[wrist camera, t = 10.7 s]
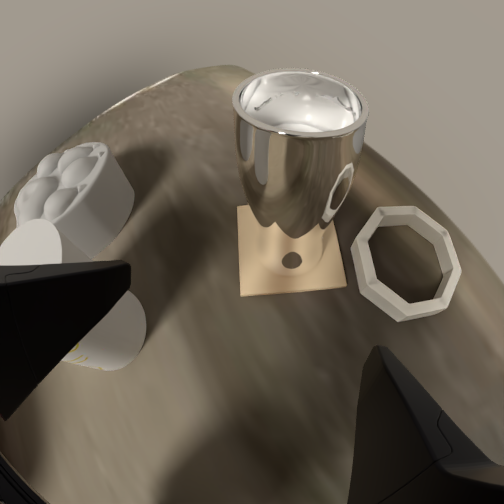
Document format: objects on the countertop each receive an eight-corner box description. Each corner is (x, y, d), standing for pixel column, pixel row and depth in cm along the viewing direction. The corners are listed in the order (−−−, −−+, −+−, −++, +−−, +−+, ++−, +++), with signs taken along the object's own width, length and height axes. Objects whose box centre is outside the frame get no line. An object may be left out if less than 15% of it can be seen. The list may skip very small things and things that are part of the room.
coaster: (241, 296, 23) (240, 295, 23) (237, 208, 28) (237, 206, 27) (345, 287, 23) (346, 285, 23) (327, 202, 27) (327, 200, 27)
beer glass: (266, 294, 23) (258, 157, 10) (239, 227, 26) (211, 80, 13) (340, 265, 24) (402, 126, 10) (307, 204, 27) (325, 61, 13)
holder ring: (365, 327, 21) (373, 322, 20) (343, 219, 26) (347, 208, 24) (458, 308, 21) (470, 302, 19) (429, 216, 26) (437, 205, 24)
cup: (66, 351, 22) (-27, 315, 11) (92, 278, 25) (15, 213, 14) (132, 383, 20) (32, 368, 10) (157, 298, 24) (83, 227, 13)
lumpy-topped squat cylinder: (43, 226, 29) (5, 187, 21) (118, 167, 32) (91, 117, 24) (60, 285, 25) (8, 248, 17) (150, 214, 28) (117, 157, 20)
